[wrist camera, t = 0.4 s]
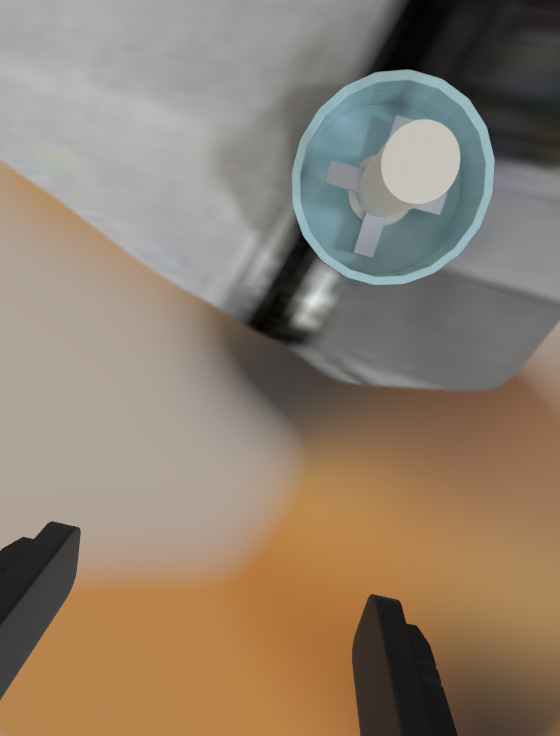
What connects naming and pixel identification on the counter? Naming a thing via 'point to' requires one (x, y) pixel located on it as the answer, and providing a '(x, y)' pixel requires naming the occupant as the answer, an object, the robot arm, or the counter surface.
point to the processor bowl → (365, 139)
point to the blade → (399, 177)
